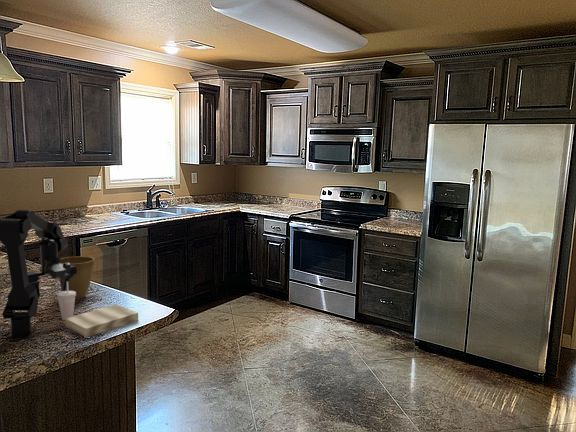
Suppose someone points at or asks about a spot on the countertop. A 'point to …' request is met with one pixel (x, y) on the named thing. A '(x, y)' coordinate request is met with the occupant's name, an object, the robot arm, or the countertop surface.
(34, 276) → the robot arm
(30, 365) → the countertop surface
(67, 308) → the smoothie
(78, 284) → the plant pot
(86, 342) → the countertop surface
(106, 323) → the plinth
